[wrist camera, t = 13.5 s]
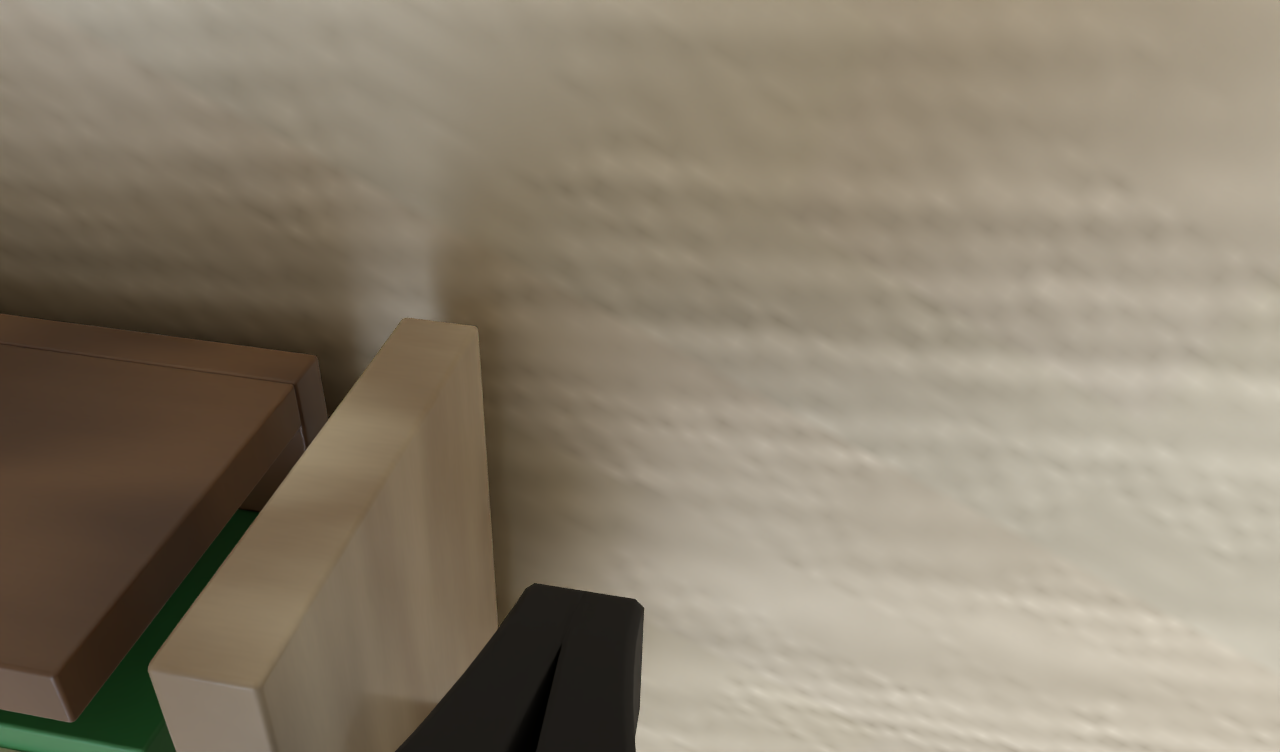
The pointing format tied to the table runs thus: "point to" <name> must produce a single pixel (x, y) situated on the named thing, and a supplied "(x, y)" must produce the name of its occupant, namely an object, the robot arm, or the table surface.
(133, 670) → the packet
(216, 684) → the drawer
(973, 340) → the table surface
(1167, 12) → the table surface
